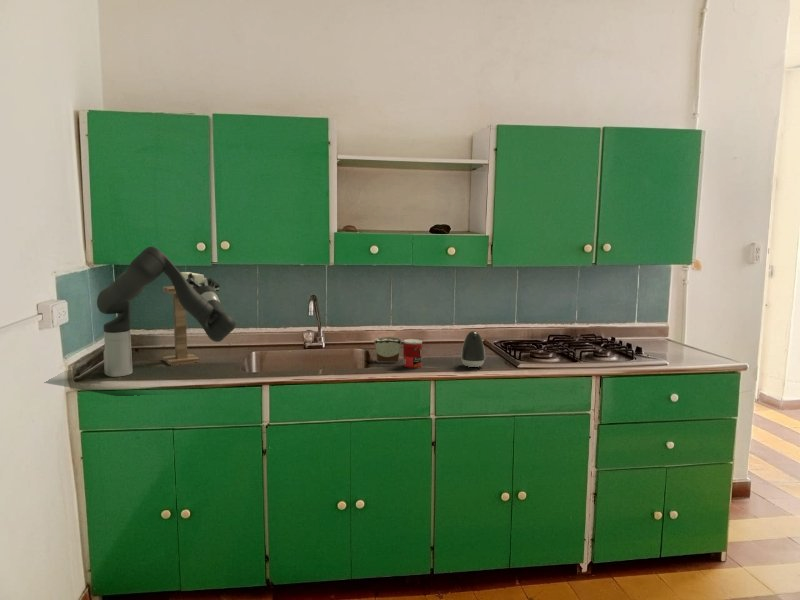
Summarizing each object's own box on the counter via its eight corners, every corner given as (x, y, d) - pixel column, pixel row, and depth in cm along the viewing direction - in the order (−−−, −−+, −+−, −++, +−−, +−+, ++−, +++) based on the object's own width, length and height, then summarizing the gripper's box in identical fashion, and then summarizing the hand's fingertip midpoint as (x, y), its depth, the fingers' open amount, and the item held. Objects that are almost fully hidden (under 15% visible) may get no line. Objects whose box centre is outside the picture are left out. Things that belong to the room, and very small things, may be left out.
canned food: (416, 369, 235) (416, 343, 234) (399, 366, 239) (399, 341, 238) (425, 365, 242) (425, 340, 240) (408, 363, 246) (409, 338, 244)
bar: (204, 284, 219) (204, 274, 219) (195, 284, 217) (194, 275, 217) (189, 280, 236) (188, 272, 236) (180, 280, 234) (180, 272, 234)
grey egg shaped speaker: (461, 369, 236) (462, 333, 234) (459, 363, 246) (460, 328, 244) (486, 369, 236) (487, 333, 234) (483, 363, 246) (484, 329, 244)
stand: (199, 362, 244) (197, 287, 240) (170, 365, 237) (167, 289, 233) (191, 356, 254) (189, 285, 250) (163, 360, 247) (160, 286, 243)
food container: (401, 358, 254) (401, 336, 253) (401, 362, 248) (402, 339, 247) (373, 358, 254) (373, 336, 252) (373, 362, 248) (373, 339, 246)
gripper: (228, 291, 213) (214, 266, 225) (189, 293, 205) (177, 267, 216) (225, 307, 217) (212, 282, 228) (187, 310, 209) (175, 283, 220)
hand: (195, 275), depth 222 cm, fingers closed on bar, 3 cm apart
